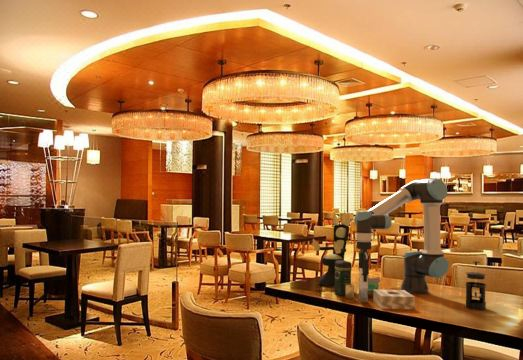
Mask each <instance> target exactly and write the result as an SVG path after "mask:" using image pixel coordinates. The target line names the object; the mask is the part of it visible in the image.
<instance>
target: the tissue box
mask: <svg viewBox="0 0 523 360" xmlns="http://www.w3.org/2000/svg"><path fill="white" fill-rule="evenodd" d="M372 299H373V300H372V301H373V303H374V304H375V305H377V306H378V308H380V309H382V310H384V309H385V310H414V309H416V308H415V307H416V297H415V296H414V295H413V294H412V293H408V292H406V291H405V290H401V289H378V290H375V289H373V297H372Z"/></svg>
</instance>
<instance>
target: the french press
mask: <svg viewBox="0 0 523 360" xmlns="http://www.w3.org/2000/svg"><path fill="white" fill-rule="evenodd" d="M471 263H474V265H475V266H478V264H481V263H482V262H481V261H477V260H472V261H471ZM465 274H466V278H467V279H471V280H475V281H466V282H465V298H466V299H465V308H466V309H468V308H469V310H473V309H475V310H474V311H485V309H486V310H487V306H486V305H487V302H486V288H487V285H486V283H484V282H478V281H477V280H485V278H486V276H487V275H486V273H483V272H477V271H473V272H472V271H470V272H466V273H465ZM474 288H475V291H474V292H473V289H474ZM477 289H478V291H479V293H477ZM473 298H477V299H473Z"/></svg>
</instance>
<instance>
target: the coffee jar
mask: <svg viewBox="0 0 523 360" xmlns="http://www.w3.org/2000/svg"><path fill="white" fill-rule="evenodd" d="M352 269H353V267H352V262H350V261H348V260H345V259H344V260H337V261H336V262H335V285H334V287H333V291H334V294H335V295H338V296H344V297H345V289H346V284H352Z"/></svg>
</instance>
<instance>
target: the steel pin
mask: <svg viewBox="0 0 523 360" xmlns="http://www.w3.org/2000/svg"><path fill="white" fill-rule="evenodd" d="M361 274H363V272H362V268H359V267H358V275H359V276H358V300H359V301H361V302H368V301H369V297H368V288H362V275H361Z"/></svg>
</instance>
